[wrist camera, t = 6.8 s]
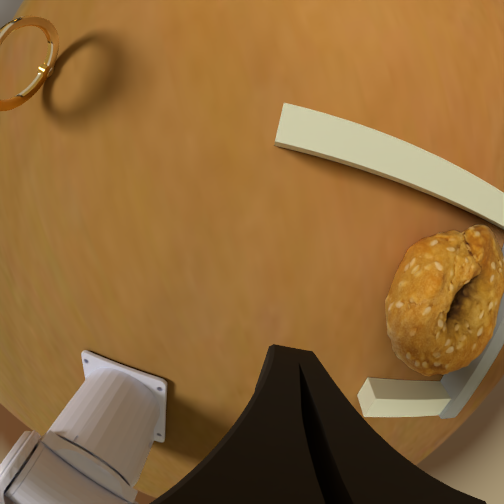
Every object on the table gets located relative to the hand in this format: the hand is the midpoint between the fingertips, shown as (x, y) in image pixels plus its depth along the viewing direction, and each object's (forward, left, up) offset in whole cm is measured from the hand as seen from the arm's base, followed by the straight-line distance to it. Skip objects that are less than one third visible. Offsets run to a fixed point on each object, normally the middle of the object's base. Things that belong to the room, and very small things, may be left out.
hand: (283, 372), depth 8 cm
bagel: (+1, -12, -10) cm, 16 cm away
